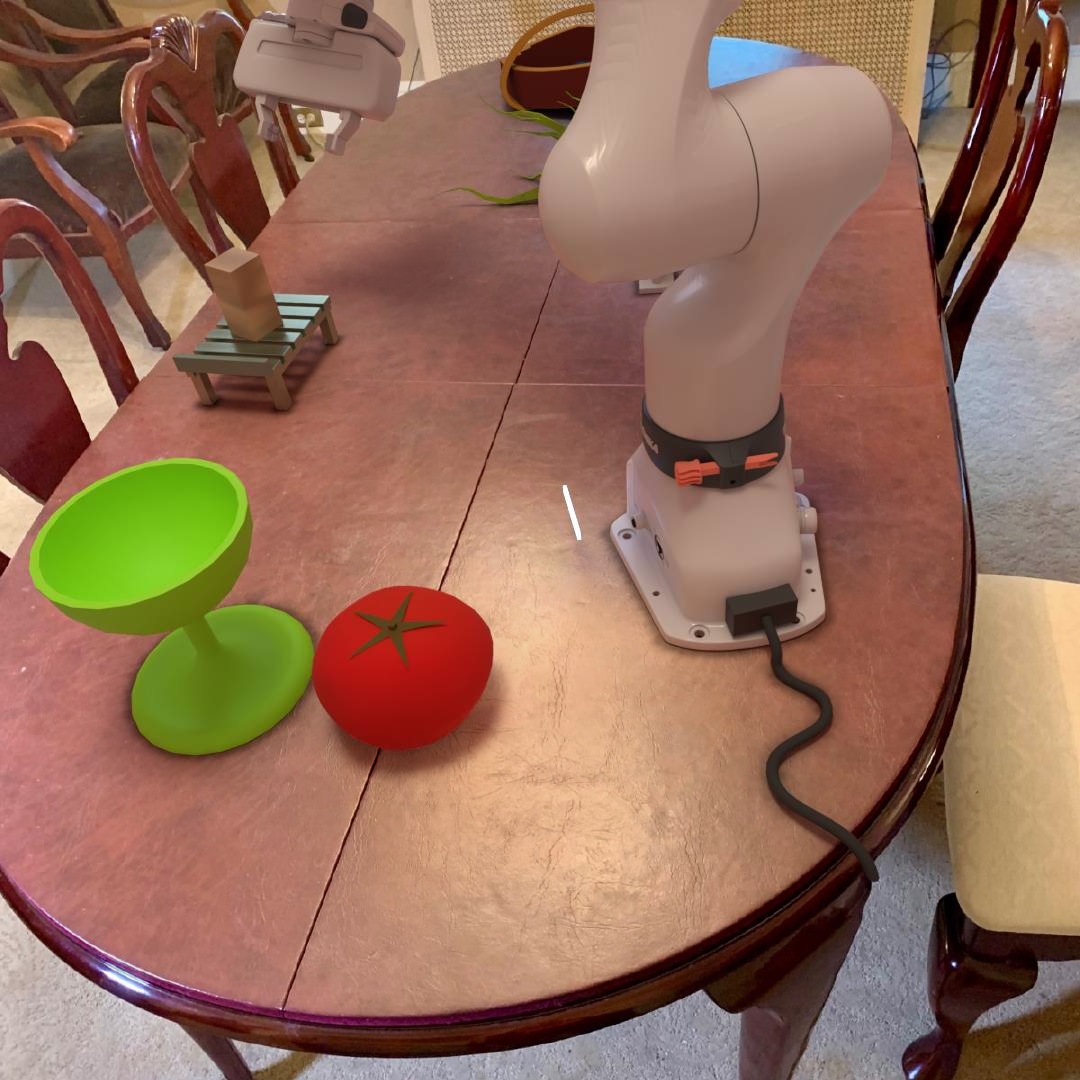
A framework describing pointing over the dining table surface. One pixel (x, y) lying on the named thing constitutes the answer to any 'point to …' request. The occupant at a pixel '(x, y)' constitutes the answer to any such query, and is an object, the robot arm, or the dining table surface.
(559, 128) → the decorative plant
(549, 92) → the decorative basket
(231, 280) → the block
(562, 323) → the dining table surface
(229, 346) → the rack
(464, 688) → the tomato
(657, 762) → the dining table surface
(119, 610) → the wineglass
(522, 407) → the dining table surface
